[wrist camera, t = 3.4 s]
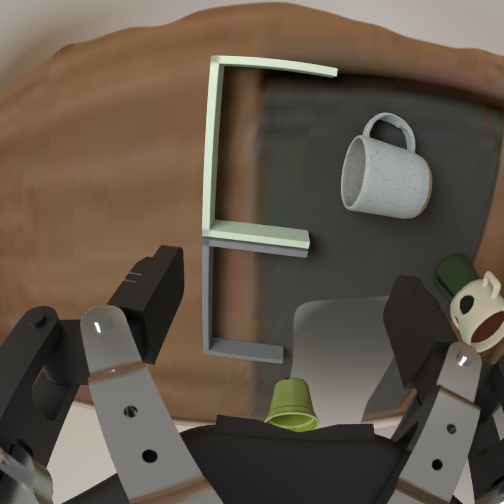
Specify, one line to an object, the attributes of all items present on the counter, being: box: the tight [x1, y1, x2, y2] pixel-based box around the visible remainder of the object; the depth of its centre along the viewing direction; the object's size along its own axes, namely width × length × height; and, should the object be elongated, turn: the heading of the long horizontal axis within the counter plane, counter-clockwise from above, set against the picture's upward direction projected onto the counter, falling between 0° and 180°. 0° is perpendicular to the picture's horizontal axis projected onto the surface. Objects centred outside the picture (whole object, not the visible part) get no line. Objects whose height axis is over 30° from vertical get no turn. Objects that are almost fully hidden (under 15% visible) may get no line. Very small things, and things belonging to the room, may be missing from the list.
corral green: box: [202, 56, 337, 249], centre depth 30 cm, size 12×20×3 cm, turn 175°
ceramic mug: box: [341, 113, 432, 219], centre depth 27 cm, size 11×8×8 cm
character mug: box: [434, 255, 504, 352], centre depth 31 cm, size 11×7×13 cm, turn 6°
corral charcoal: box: [202, 236, 308, 363], centre depth 40 cm, size 12×20×3 cm, turn 175°
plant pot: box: [264, 378, 320, 432], centre depth 48 cm, size 9×9×9 cm
